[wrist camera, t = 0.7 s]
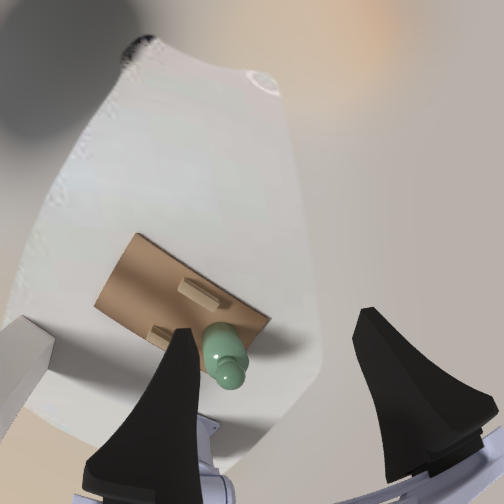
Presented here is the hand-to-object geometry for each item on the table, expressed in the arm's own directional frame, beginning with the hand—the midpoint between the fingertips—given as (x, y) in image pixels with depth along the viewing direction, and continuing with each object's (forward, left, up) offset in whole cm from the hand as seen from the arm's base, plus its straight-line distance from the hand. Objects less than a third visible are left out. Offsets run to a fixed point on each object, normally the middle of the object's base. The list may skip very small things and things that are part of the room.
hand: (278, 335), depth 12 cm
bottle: (-8, -5, -20) cm, 22 cm away
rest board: (-8, 0, -20) cm, 22 cm away
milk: (-24, +15, -21) cm, 35 cm away
